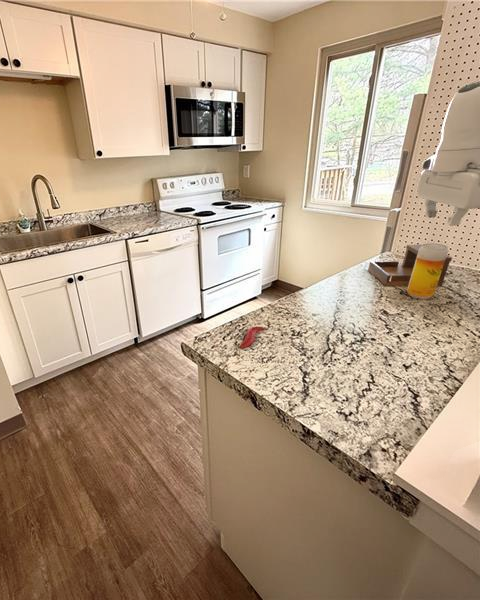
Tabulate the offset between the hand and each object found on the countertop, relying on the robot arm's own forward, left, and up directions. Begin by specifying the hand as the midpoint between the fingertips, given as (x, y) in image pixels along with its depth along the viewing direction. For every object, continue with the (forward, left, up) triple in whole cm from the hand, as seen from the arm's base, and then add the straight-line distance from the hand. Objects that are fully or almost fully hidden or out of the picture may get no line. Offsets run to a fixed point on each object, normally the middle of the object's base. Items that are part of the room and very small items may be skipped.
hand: (440, 220), depth 79 cm
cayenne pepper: (+47, +24, -23) cm, 57 cm away
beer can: (-3, -4, -23) cm, 24 cm away
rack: (-5, -18, -23) cm, 30 cm away
